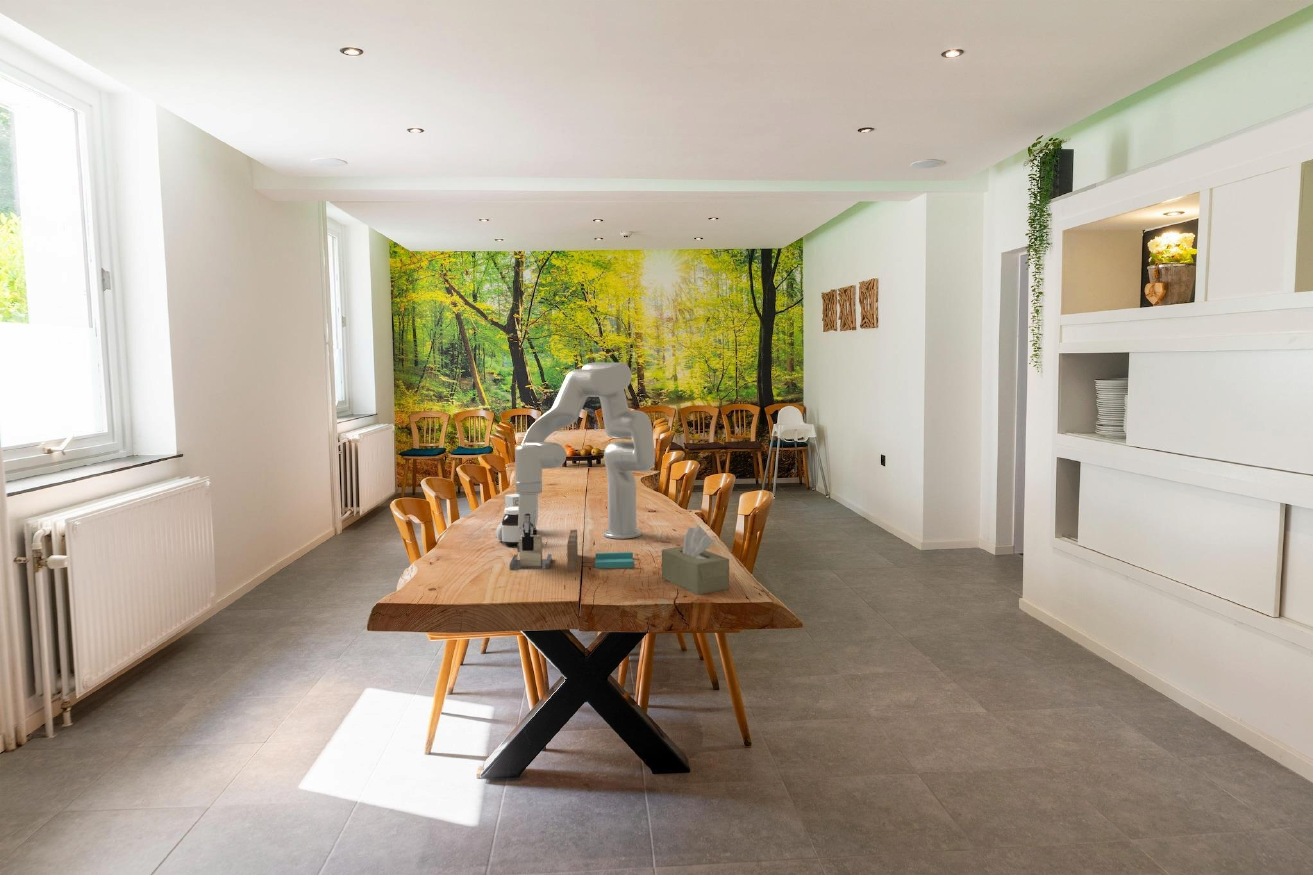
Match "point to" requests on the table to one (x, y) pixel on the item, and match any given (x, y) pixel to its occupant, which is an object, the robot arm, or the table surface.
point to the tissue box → (696, 564)
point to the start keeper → (516, 566)
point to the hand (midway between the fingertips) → (529, 546)
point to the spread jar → (509, 527)
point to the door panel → (572, 551)
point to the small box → (512, 500)
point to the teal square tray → (614, 560)
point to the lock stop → (531, 553)
